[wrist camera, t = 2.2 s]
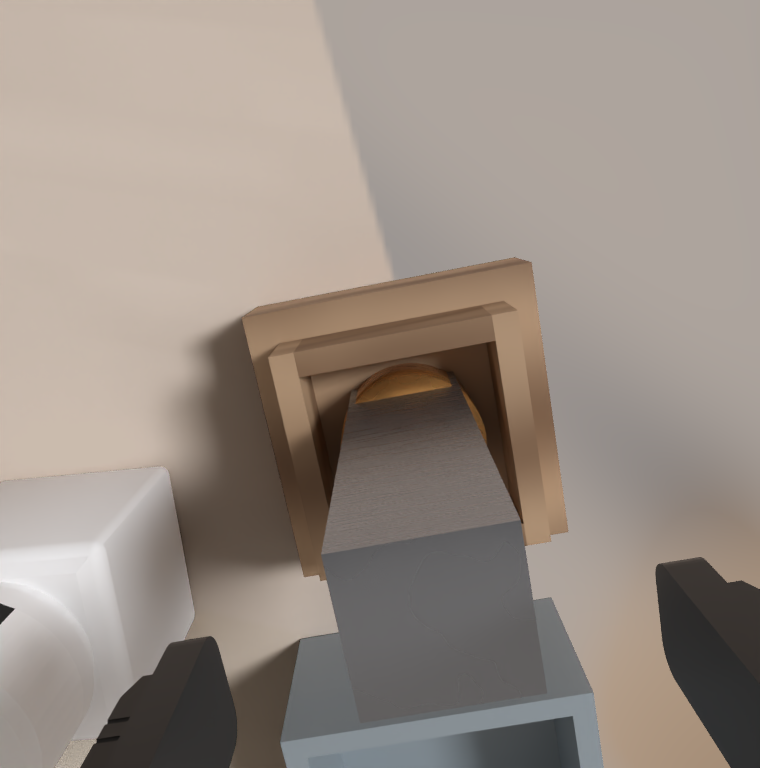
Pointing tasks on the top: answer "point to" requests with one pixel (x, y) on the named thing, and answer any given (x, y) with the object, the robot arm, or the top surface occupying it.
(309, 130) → the top surface
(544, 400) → the socket block
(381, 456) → the strut
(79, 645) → the medicine bottle
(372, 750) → the bin
